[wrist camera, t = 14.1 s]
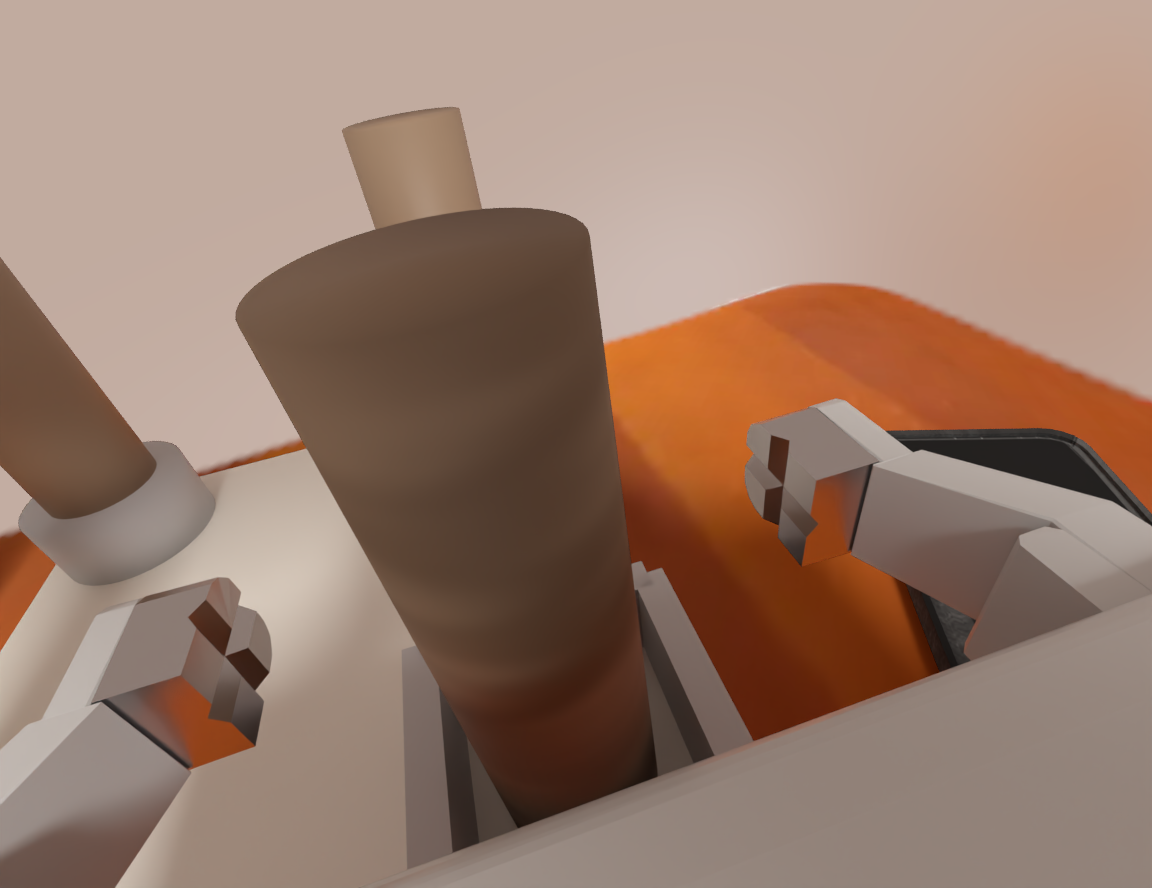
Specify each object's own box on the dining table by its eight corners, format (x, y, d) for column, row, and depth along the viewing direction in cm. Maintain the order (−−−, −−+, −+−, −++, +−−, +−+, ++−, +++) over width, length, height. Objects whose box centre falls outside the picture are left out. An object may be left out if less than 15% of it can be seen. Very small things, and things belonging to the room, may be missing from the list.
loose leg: (522, 891, 11) (187, 390, 4) (496, 725, 14) (270, 252, 7) (683, 829, 12) (641, 277, 4) (627, 680, 14) (545, 190, 7)
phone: (1032, 869, 11) (856, 430, 23) (1013, 886, 12) (851, 451, 24) (1536, 929, 10) (1077, 426, 21) (1482, 944, 11) (1065, 449, 22)
